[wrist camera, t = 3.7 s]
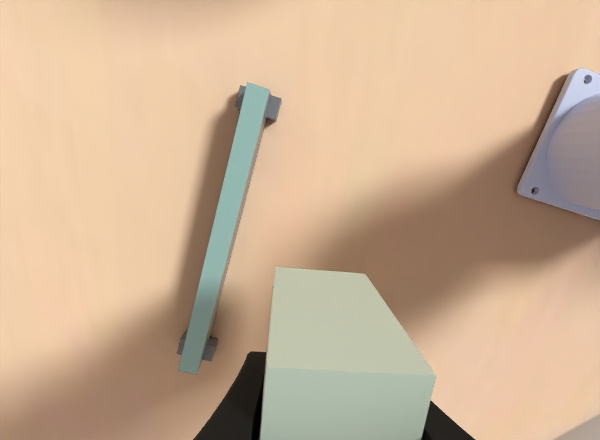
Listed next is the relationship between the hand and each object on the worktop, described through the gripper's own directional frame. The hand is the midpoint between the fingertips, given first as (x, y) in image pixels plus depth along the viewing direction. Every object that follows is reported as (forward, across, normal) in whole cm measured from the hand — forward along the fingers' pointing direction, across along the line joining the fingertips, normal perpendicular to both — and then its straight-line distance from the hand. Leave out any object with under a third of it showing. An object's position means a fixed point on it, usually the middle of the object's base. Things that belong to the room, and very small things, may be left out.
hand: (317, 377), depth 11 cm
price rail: (+9, +5, -3) cm, 11 cm away
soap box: (+2, 0, 0) cm, 2 cm away
